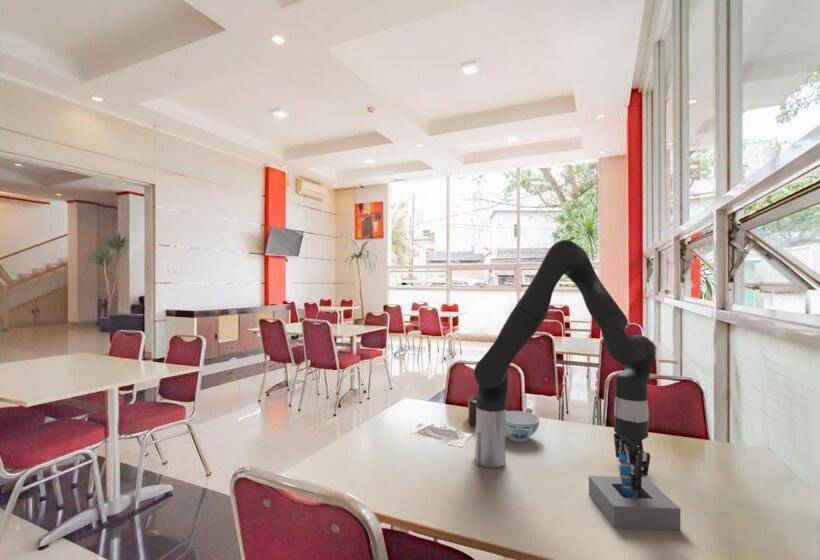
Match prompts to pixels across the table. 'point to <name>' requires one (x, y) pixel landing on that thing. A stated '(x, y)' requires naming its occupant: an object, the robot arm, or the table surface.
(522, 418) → the chinaware
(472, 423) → the pepper mill
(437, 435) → the terrain model
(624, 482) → the ornament
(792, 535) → the table surface
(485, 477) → the table surface
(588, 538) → the table surface
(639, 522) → the socket block
